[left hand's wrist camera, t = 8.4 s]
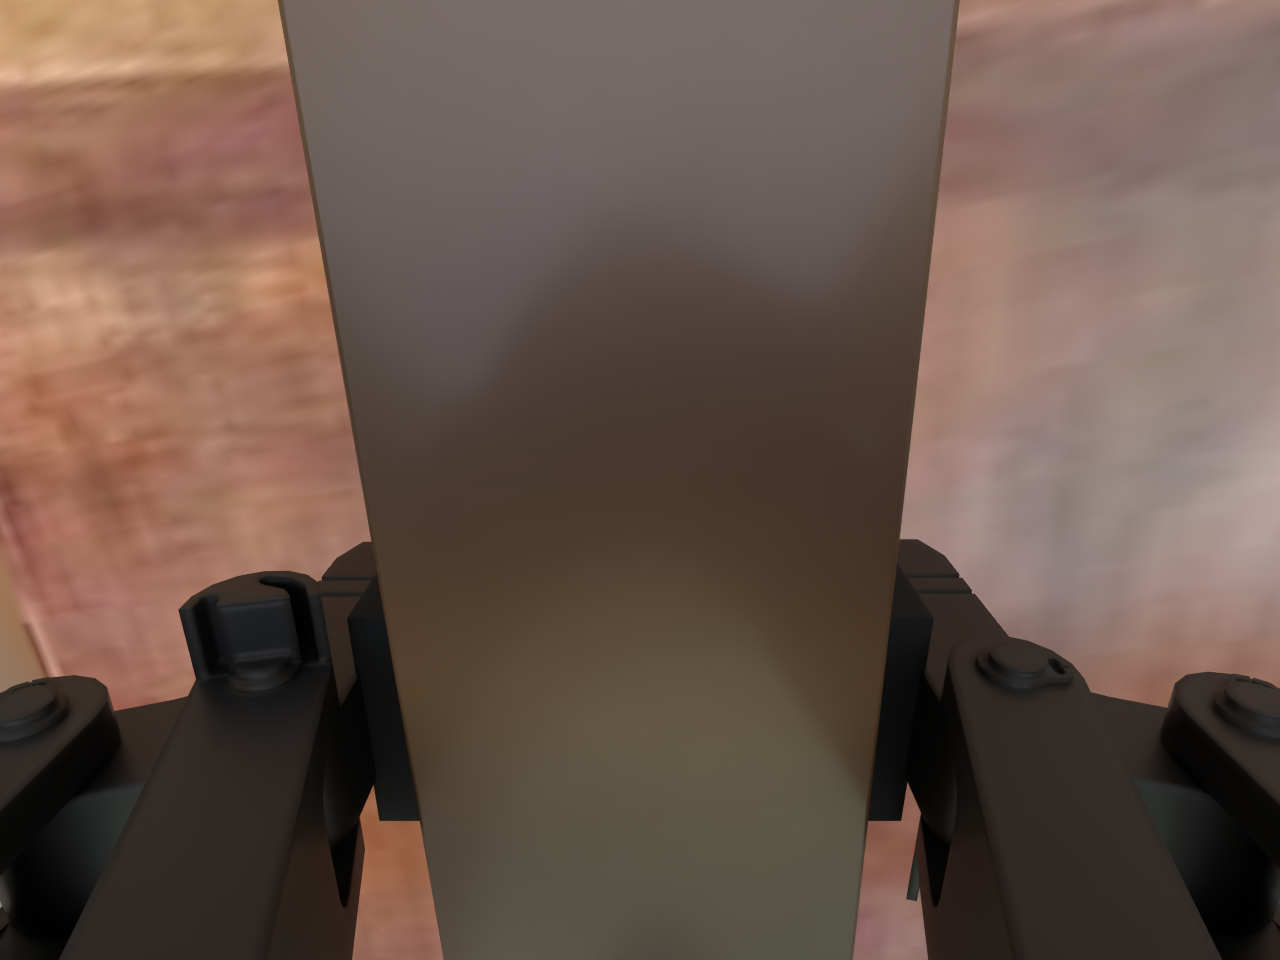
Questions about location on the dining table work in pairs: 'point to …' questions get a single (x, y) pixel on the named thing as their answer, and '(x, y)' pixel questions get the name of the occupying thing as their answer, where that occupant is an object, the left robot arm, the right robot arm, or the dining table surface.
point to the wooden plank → (632, 439)
